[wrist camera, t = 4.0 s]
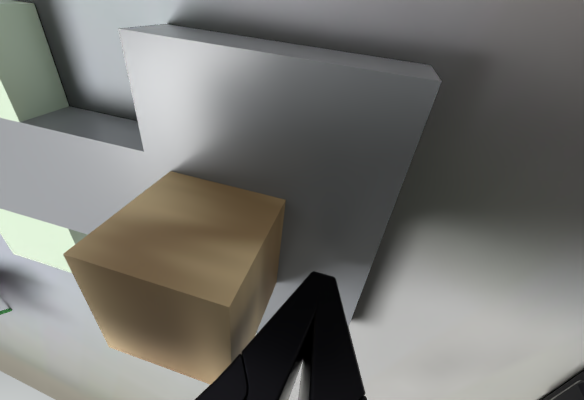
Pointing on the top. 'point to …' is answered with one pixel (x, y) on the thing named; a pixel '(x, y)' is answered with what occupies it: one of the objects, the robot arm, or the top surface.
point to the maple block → (183, 273)
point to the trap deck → (213, 141)
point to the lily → (5, 311)
